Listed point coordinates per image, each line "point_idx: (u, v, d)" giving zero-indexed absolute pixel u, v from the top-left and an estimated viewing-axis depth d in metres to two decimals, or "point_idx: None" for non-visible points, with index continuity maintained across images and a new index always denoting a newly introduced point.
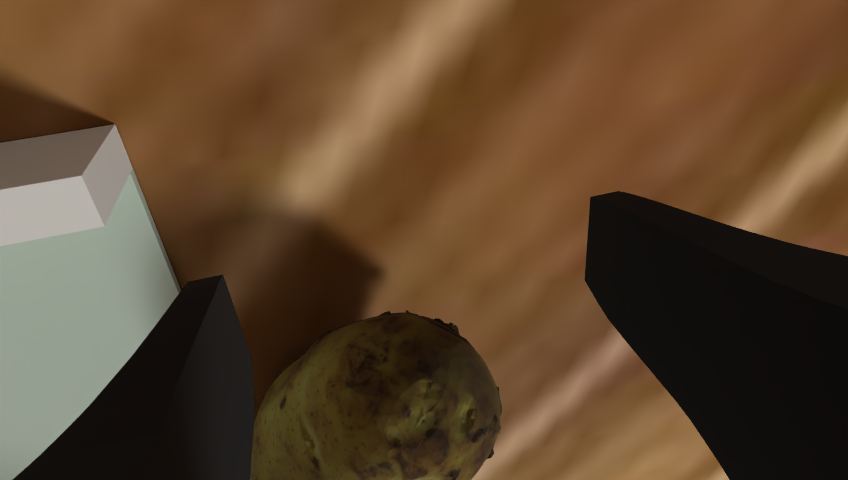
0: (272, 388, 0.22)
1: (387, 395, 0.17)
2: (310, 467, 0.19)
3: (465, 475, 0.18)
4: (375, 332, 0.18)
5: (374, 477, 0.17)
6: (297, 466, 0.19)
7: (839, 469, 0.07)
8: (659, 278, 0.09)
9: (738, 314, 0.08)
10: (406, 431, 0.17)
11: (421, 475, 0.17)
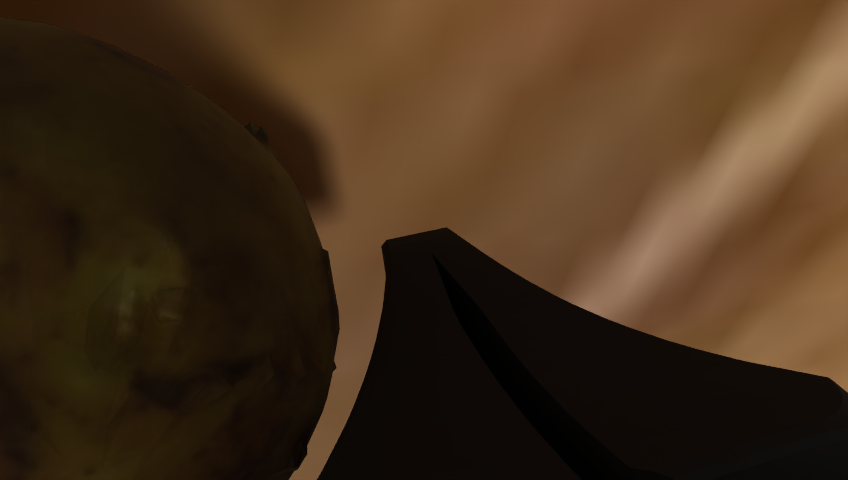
0: None
1: None
2: None
3: None
4: None
5: None
6: None
7: None
8: None
9: (499, 376, 0.07)
10: None
11: None
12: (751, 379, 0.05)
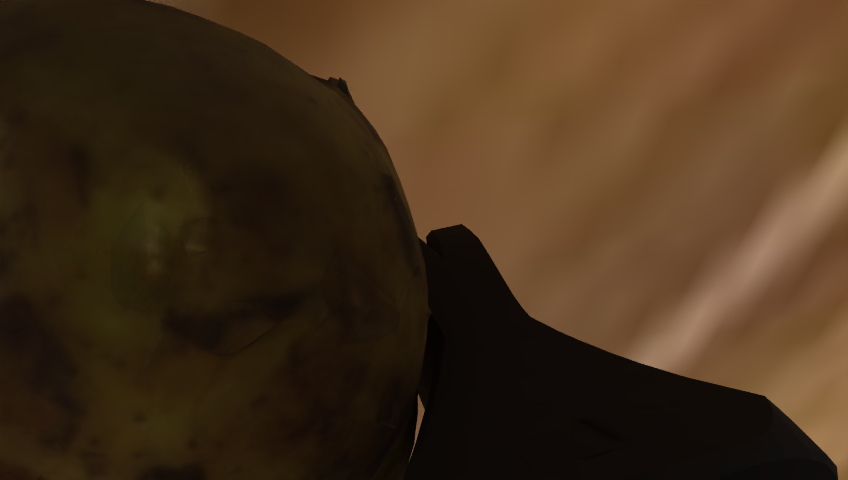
0: None
1: None
2: None
3: None
4: None
5: None
6: None
7: None
8: None
9: None
10: None
11: None
12: (688, 396, 0.05)
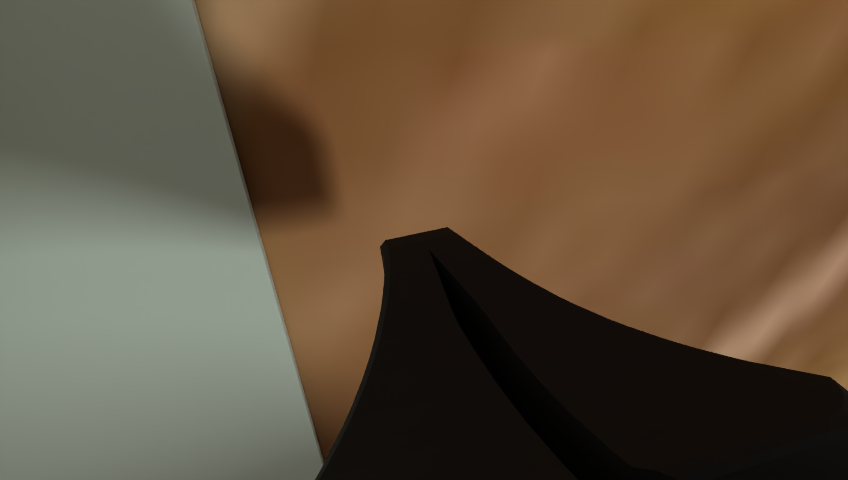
0: None
1: None
2: None
3: None
4: None
5: None
6: None
7: None
8: None
9: (500, 376, 0.07)
10: None
11: None
12: (753, 378, 0.05)
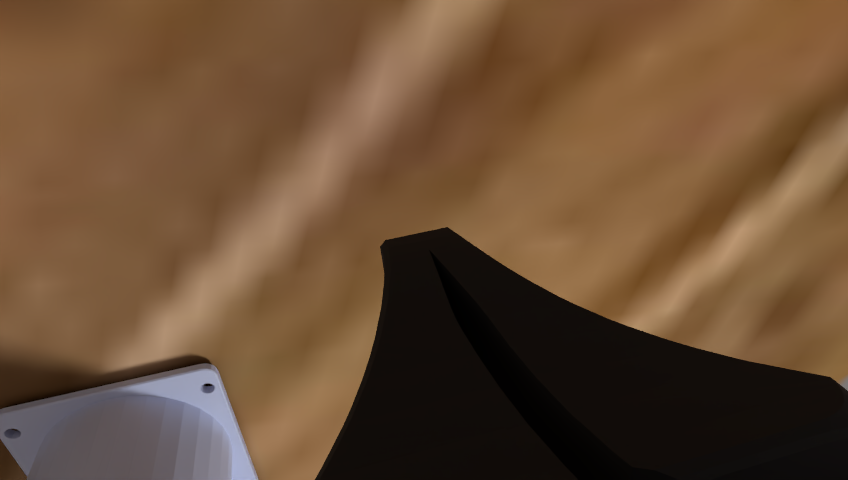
0: None
1: None
2: None
3: None
4: None
5: None
6: None
7: None
8: None
9: (500, 376, 0.07)
10: None
11: None
12: (753, 378, 0.05)
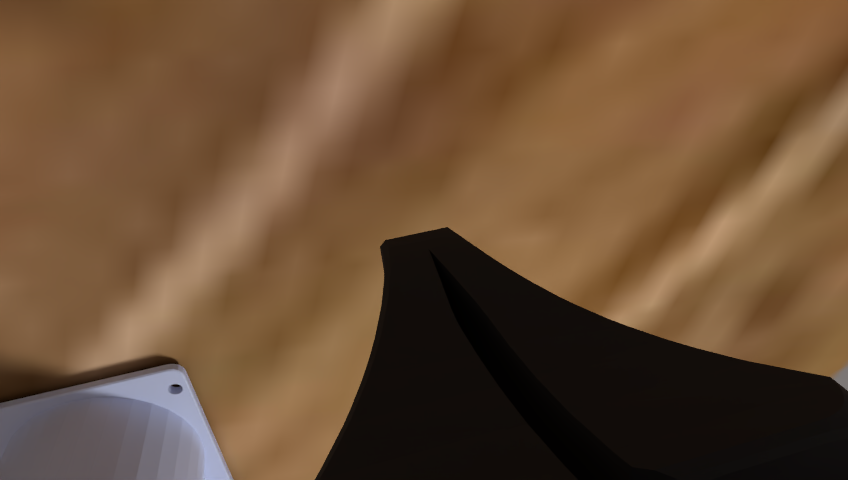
0: None
1: None
2: None
3: None
4: None
5: None
6: None
7: None
8: None
9: (500, 376, 0.07)
10: None
11: None
12: (752, 378, 0.05)
